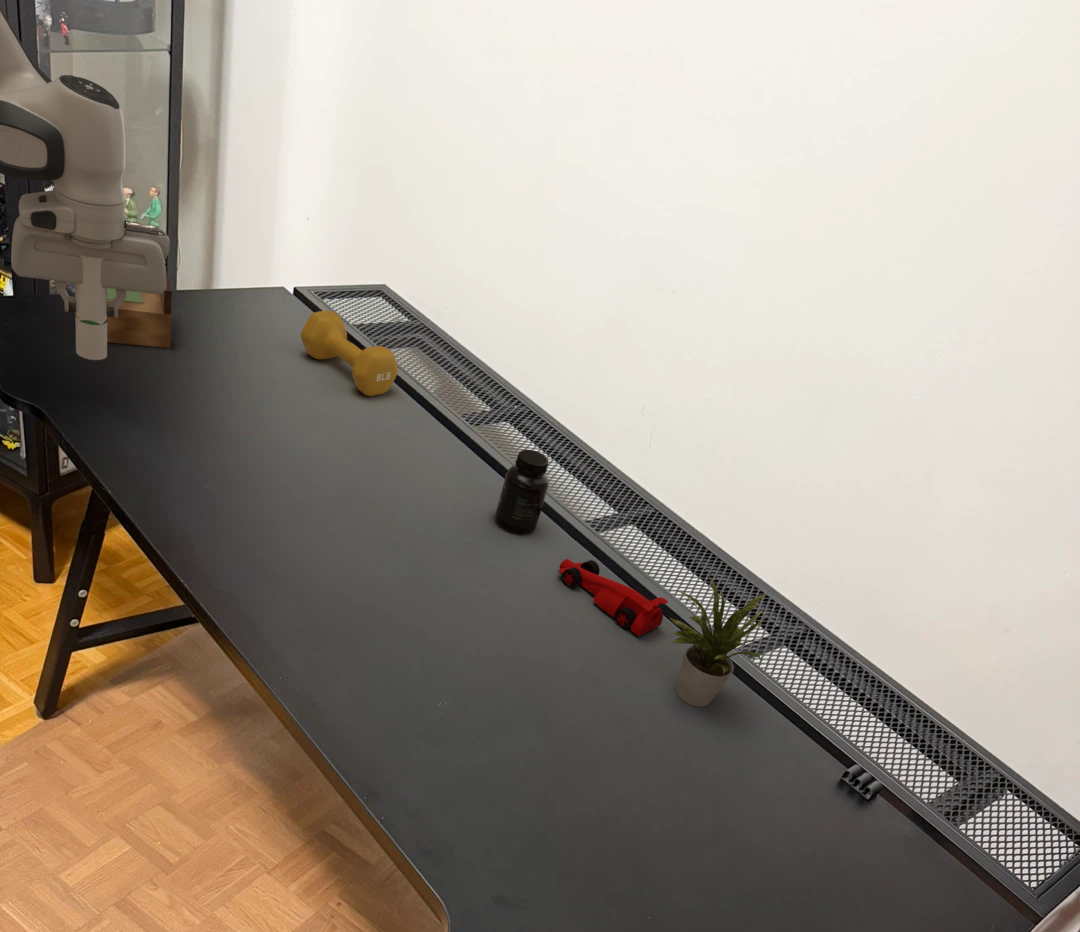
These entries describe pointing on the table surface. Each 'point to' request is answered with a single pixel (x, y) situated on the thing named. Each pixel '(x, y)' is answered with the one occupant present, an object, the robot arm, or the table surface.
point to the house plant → (711, 650)
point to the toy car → (614, 597)
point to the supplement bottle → (523, 493)
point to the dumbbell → (349, 353)
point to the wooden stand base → (142, 318)
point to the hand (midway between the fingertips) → (91, 313)
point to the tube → (91, 311)
